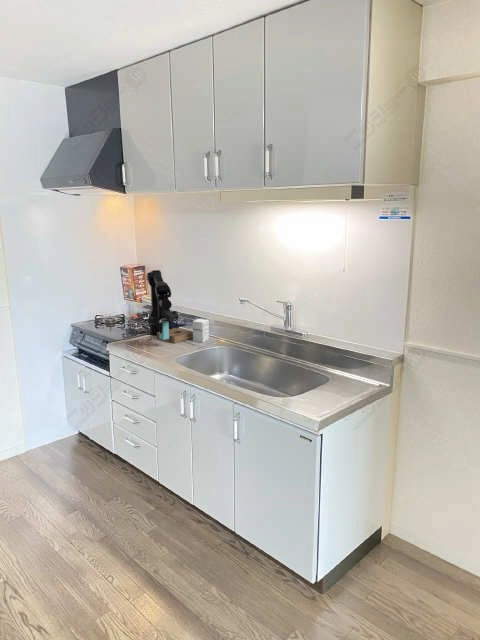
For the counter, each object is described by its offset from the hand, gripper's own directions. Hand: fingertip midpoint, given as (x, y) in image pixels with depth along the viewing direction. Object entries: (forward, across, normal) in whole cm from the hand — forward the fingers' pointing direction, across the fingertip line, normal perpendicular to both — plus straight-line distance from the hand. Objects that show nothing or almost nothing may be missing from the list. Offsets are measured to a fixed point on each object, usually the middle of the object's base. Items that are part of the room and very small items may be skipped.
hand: (163, 332), depth 278 cm
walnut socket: (+8, +15, +7) cm, 18 cm away
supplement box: (+8, +22, -8) cm, 25 cm away
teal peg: (+4, 0, 0) cm, 4 cm away
